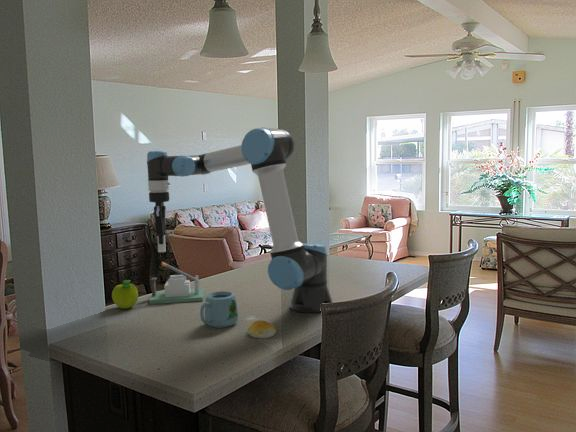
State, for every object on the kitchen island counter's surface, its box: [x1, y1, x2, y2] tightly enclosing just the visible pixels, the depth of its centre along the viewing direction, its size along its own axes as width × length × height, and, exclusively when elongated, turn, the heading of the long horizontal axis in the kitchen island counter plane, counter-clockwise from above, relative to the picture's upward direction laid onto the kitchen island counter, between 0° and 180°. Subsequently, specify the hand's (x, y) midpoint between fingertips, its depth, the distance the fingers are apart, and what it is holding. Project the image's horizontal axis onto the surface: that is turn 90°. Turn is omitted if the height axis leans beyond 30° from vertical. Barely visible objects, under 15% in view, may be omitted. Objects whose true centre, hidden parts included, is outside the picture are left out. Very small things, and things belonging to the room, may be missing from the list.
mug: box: [199, 291, 239, 329], centre depth 169 cm, size 15×11×10 cm
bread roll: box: [247, 320, 277, 339], centre depth 160 cm, size 8×9×4 cm
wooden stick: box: [160, 261, 195, 282], centre depth 203 cm, size 16×2×1 cm, turn 96°
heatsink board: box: [148, 274, 206, 305], centre depth 204 cm, size 20×13×8 cm, turn 95°
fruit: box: [111, 279, 139, 310], centre depth 192 cm, size 9×9×10 cm
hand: (162, 251), depth 202 cm, fingers closed
